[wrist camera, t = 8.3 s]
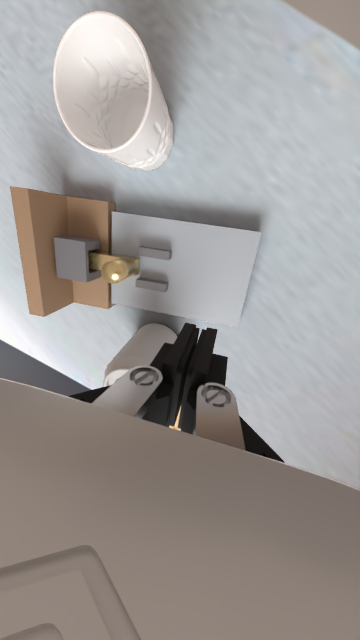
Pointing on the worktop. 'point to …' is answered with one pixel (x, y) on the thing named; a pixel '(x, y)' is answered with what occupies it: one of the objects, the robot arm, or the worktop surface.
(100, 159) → the worktop surface
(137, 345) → the can
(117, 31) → the white cup
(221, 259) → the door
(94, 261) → the bolt
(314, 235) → the worktop surface
